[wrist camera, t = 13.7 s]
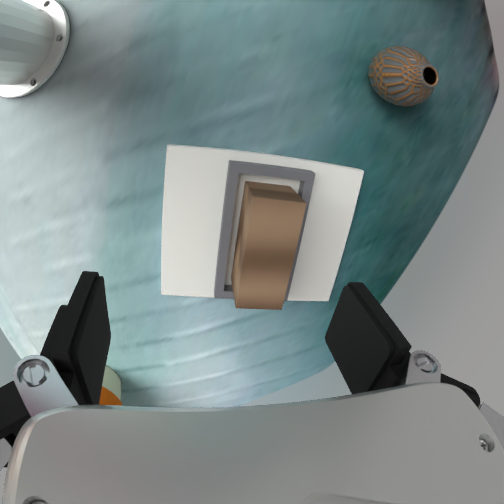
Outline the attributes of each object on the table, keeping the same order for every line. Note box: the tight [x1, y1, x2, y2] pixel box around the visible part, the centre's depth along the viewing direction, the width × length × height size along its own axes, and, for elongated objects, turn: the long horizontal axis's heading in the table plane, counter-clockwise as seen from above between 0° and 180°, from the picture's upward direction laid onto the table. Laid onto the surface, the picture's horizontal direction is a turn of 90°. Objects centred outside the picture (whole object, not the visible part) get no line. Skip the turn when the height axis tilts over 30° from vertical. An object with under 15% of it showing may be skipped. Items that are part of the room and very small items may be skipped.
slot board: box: [161, 144, 364, 301], centre depth 36 cm, size 22×18×2 cm
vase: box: [368, 46, 439, 106], centre depth 26 cm, size 7×7×9 cm
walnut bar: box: [231, 181, 306, 310], centre depth 34 cm, size 12×5×6 cm, turn 171°
